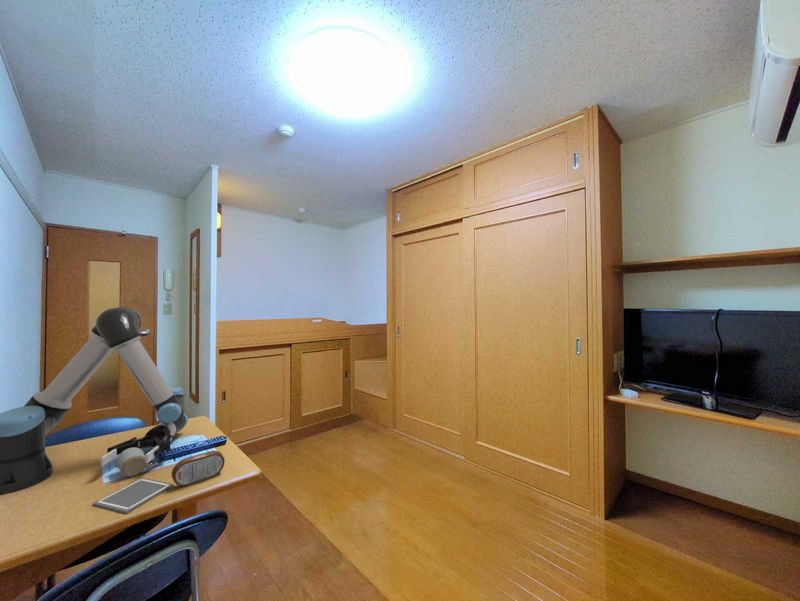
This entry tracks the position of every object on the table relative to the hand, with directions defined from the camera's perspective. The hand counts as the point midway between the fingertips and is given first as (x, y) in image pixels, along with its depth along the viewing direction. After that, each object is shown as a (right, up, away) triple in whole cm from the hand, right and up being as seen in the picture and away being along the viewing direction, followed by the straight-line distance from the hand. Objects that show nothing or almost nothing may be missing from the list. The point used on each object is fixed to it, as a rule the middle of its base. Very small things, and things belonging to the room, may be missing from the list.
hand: (124, 460), depth 109 cm
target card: (+11, -6, -10) cm, 16 cm away
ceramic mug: (+1, -6, +5) cm, 8 cm away
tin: (+26, -6, -1) cm, 27 cm away
